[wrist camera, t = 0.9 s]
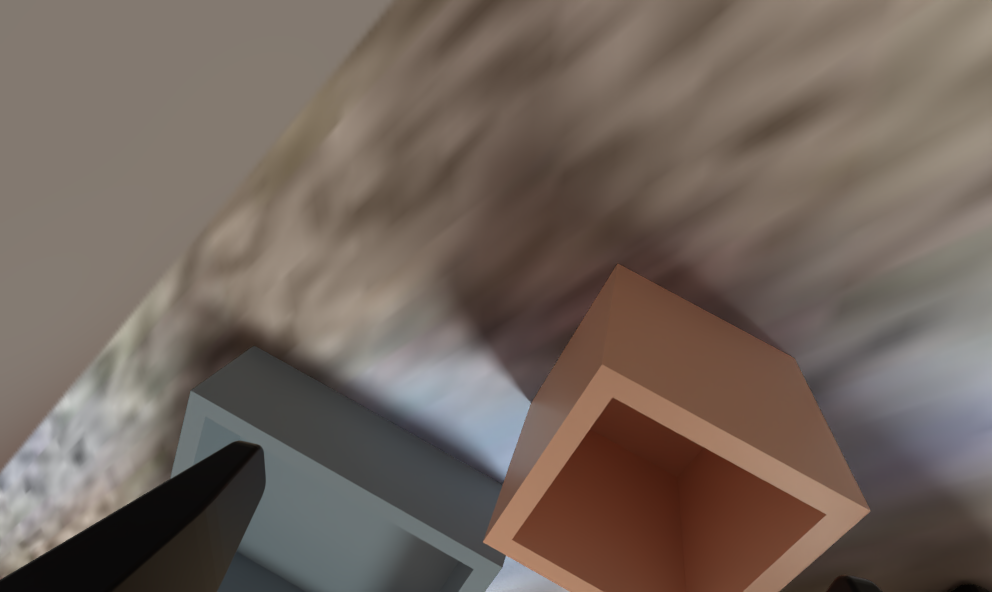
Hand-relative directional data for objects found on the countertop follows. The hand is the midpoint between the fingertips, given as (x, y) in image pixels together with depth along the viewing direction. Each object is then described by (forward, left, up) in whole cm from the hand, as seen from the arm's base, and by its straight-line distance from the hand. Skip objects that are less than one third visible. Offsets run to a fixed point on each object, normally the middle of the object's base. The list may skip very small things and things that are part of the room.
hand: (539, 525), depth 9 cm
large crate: (+4, +16, -12) cm, 21 cm away
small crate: (-4, +2, -11) cm, 12 cm away
